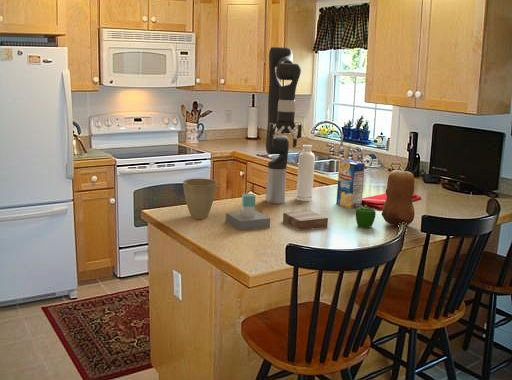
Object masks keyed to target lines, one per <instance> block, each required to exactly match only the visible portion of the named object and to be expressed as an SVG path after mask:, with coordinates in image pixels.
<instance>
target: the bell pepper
mask: <svg viewBox="0 0 512 380" xmlns="http://www.w3.org/2000/svg"><path fill="white" fill-rule="evenodd" d="M376 213H377V212H376V210H375V209H371V208H367V205H365V206H364V207H363V206H361V207H358V208H356V211H355V221H356V224H357V226H358V227H360V228H363V229H368V228H370V227H372V226H373V224H374V222H375V218H376Z"/></svg>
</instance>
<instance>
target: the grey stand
mask: <svg viewBox="0 0 512 380" xmlns="http://www.w3.org/2000/svg"><path fill="white" fill-rule="evenodd" d="M241 213H242V210H241V211H231V212H230V211H229V212H226V213H225V214H226V216H225V222H226V223H228V224H229V225H230V226H232V227H234V228H235V229H237V230H238V231H248V230H249V231H250V230H257V229H266V228H267V229H269V228H271V217H268V216H267V215H265V214H263V213H261V212H259V211H257V210H256V209H255V216H254V217H243V216H242V214H241Z"/></svg>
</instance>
